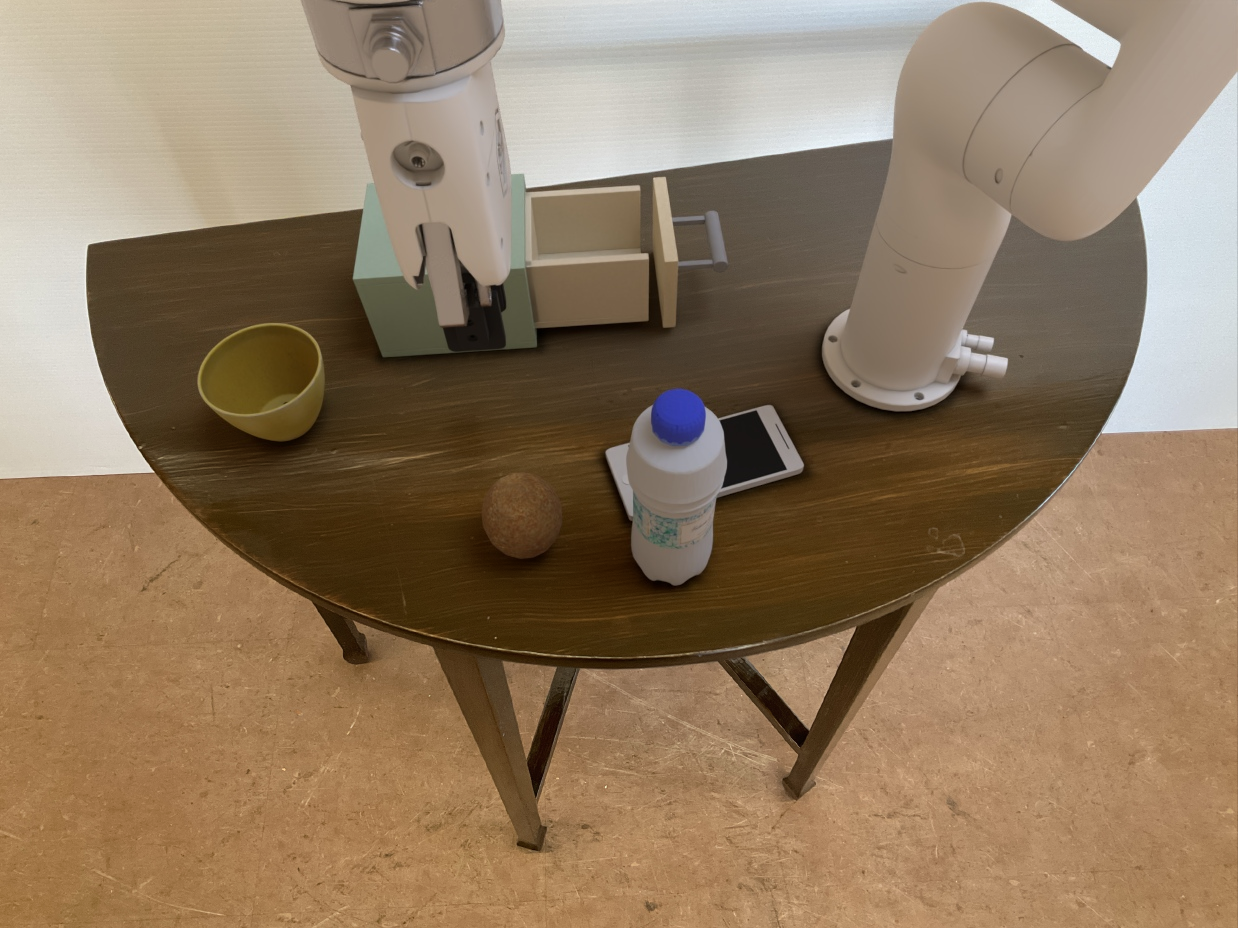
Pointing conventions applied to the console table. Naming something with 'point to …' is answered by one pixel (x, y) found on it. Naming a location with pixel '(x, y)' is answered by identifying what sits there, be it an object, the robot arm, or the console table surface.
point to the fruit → (522, 515)
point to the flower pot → (265, 380)
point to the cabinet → (411, 314)
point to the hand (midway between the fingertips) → (478, 326)
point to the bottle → (675, 485)
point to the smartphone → (734, 454)
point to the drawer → (605, 255)
